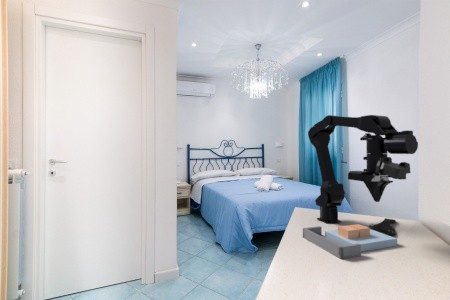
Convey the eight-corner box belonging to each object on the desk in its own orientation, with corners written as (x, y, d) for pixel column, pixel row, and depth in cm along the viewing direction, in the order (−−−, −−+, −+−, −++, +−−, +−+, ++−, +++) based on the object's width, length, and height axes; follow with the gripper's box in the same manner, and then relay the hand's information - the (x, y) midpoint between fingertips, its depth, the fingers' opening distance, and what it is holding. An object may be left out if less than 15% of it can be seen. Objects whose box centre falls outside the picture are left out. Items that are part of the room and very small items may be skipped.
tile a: (349, 233, 73) (349, 225, 73) (358, 231, 75) (358, 224, 75) (359, 237, 70) (359, 229, 70) (369, 236, 71) (369, 228, 71)
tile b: (337, 234, 72) (337, 226, 72) (347, 233, 73) (347, 225, 73) (348, 239, 68) (348, 230, 68) (358, 237, 70) (358, 229, 70)
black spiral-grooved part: (404, 216, 91) (391, 228, 73) (404, 225, 91) (391, 239, 73) (379, 212, 97) (362, 222, 79) (379, 221, 97) (362, 233, 79)
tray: (302, 237, 75) (302, 228, 75) (319, 235, 77) (319, 226, 77) (340, 259, 60) (340, 247, 60) (361, 255, 62) (360, 244, 62)
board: (324, 237, 75) (324, 230, 75) (362, 231, 80) (362, 226, 80) (355, 252, 64) (355, 245, 64) (397, 245, 69) (397, 238, 69)
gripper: (378, 154, 64) (378, 209, 64) (424, 154, 70) (424, 205, 70) (346, 153, 75) (346, 201, 75) (388, 153, 80) (388, 198, 80)
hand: (377, 201), depth 75 cm, fingers closed
